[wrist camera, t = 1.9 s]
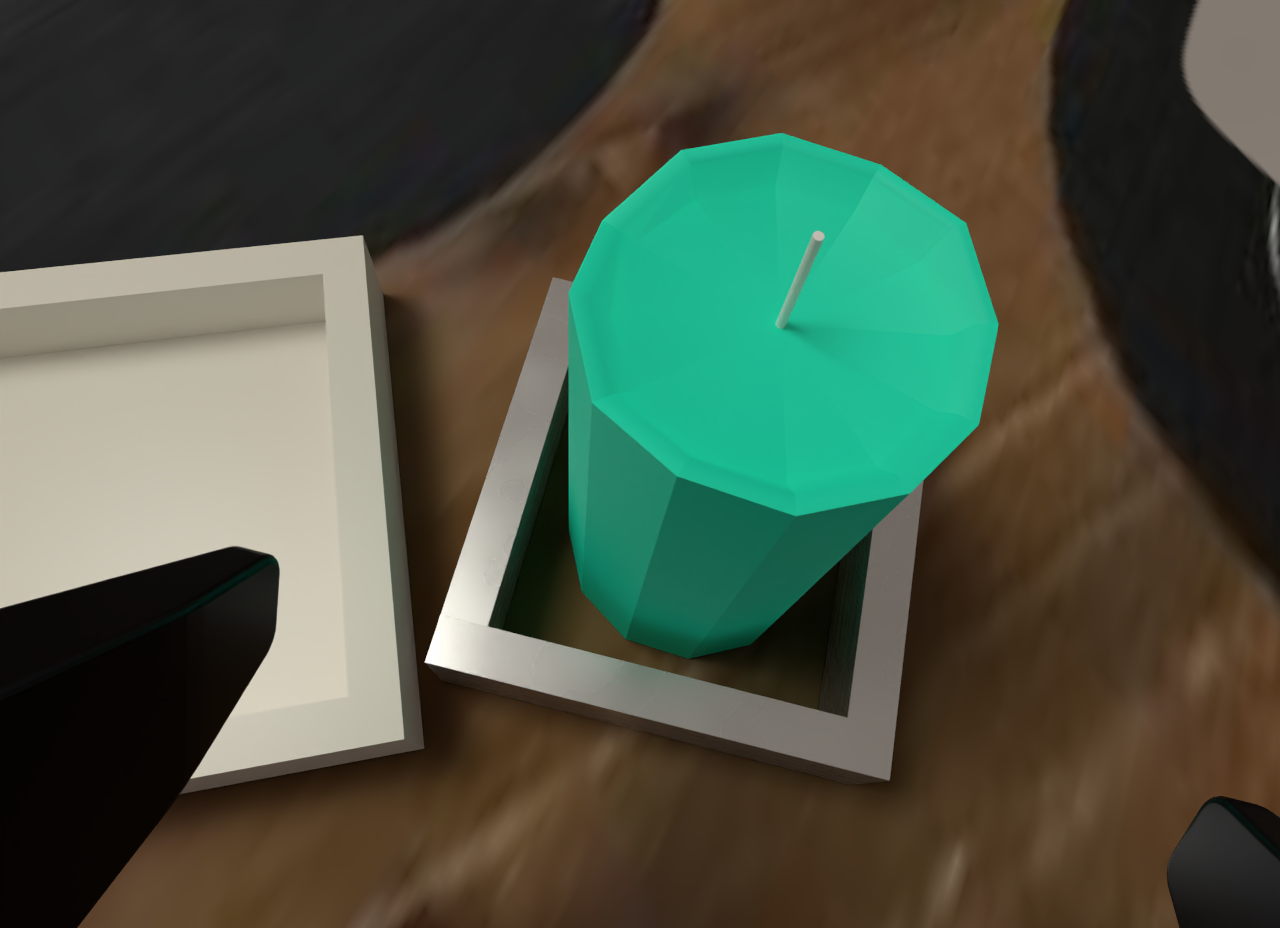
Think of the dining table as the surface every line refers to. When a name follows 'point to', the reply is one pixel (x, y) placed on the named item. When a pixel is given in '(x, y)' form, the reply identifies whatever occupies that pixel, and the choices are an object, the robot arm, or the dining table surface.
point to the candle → (760, 381)
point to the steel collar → (649, 698)
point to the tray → (223, 471)
